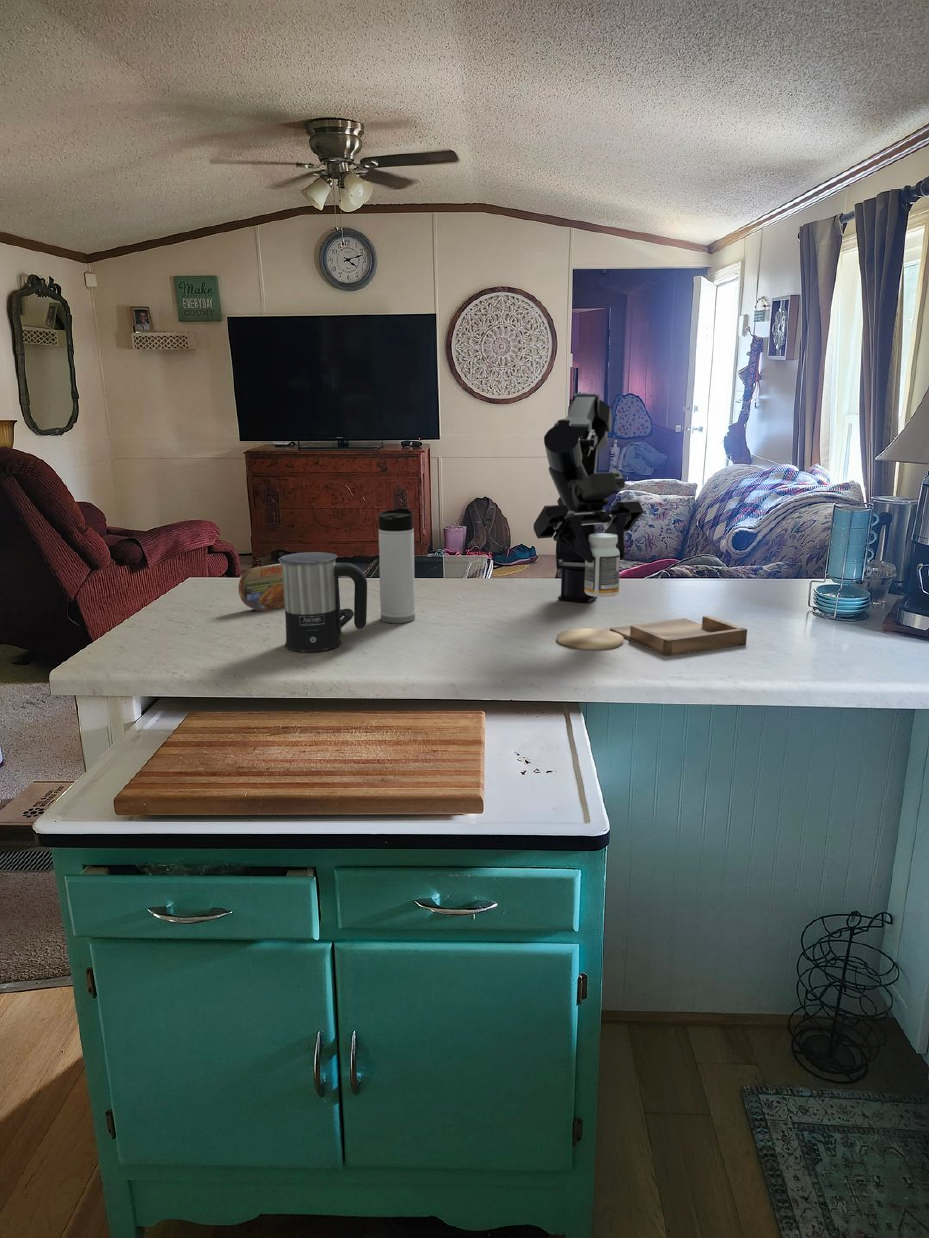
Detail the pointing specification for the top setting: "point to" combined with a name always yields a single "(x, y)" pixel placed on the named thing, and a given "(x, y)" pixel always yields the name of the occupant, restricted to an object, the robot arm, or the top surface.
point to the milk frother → (319, 600)
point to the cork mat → (590, 639)
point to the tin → (262, 588)
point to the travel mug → (396, 565)
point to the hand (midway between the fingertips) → (607, 560)
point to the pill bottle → (603, 566)
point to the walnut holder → (684, 635)
